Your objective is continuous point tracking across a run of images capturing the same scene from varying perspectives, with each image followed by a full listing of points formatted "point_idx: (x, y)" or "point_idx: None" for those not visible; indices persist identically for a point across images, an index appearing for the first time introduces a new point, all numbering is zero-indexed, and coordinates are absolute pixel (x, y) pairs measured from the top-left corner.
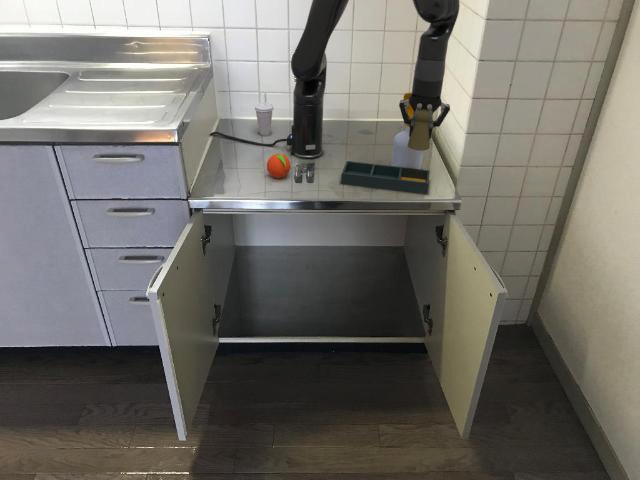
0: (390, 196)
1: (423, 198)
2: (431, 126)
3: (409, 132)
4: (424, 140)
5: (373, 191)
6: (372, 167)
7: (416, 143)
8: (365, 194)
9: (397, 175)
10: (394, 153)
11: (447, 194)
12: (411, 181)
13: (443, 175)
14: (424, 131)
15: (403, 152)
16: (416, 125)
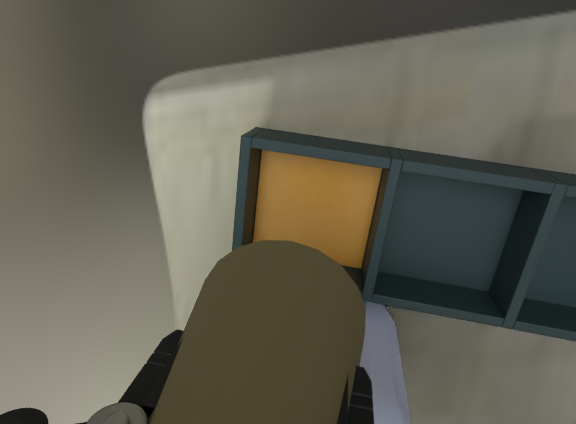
0: (436, 83)
1: (274, 84)
2: (106, 420)
3: (371, 405)
4: (226, 296)
5: (520, 126)
6: (525, 290)
7: (303, 280)
8: (573, 87)
9: (378, 273)
10: (403, 383)
11: (168, 137)
12: (329, 150)
13: (180, 299)
14: (208, 363)
15: (362, 364)
16: None
